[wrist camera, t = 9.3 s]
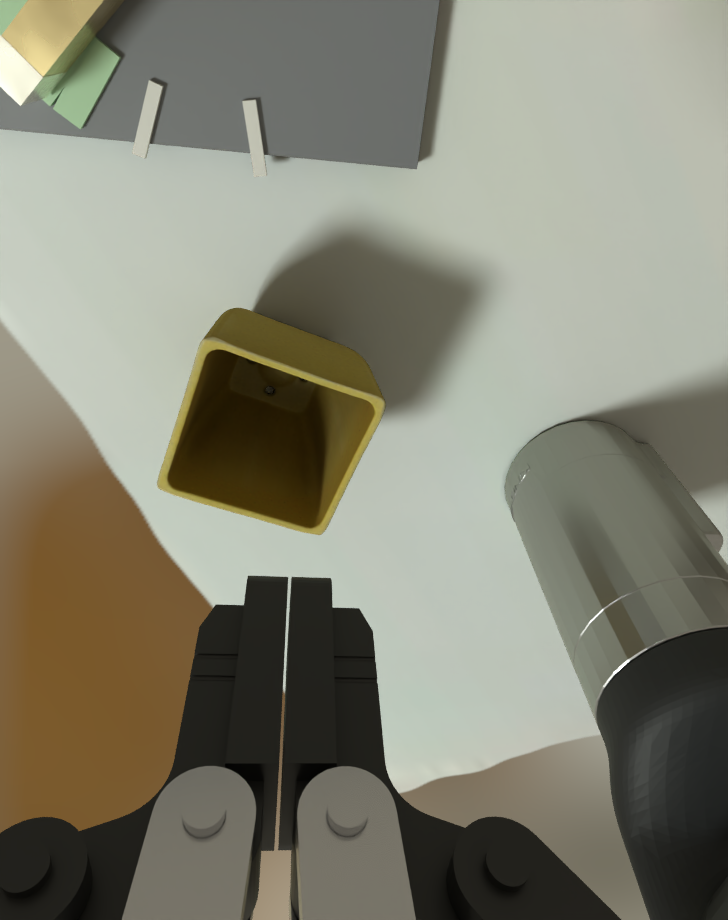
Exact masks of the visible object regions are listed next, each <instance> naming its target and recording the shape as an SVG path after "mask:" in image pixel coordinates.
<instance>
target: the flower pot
mask: <svg viewBox="0 0 728 920" xmlns="http://www.w3.org/2000/svg"><path fill="white" fill-rule="evenodd" d="M248 359H250V360H252V361H255V362H250V361H249V360H248ZM301 378H303V379H305V381H304V380H301ZM268 386H271V387H273V388H274V389H275V391H274V393H272V394H268V393H266V391H265V388H266V387H268ZM385 407H386V402H385V400H384V398H383V396H382V393H381V391H380V389H379V387H378V384H377V382H376V380H375V378H374V376H373V374H372V372H371V369H370V368H369V366H368V364H367V363H366V361H365V360H364V359H363V358H362V357H361V356H360V355H359V354H358V353H356V352H355V351H353V350H352V349H350V348H348V347H345V346H343V345H341V344H338V343H335V342H332V341H330V340H327V339H324V338H321V337H319V336H316V335H313V334H311V333H308V332H305V331H302V330H300V329H297V328H295V327H292V326H289V325H286V324H284V323H281V322H278V321H276V320H273V319H271V318H268V317H265V316H263V315H260V314H258V313H255V312H253V311H250V310H247V309H243V308H233V309H230V310H227V311H226V312H224V313H223V314H222V315H221V316H220V317H219V319H218V320H217V321H216V322H215V324H214V325H213V327H212V328H211V329H210V331H209V332H208V333H207V335H206V336H205V337H204V339H203V340H202V341H201V343H200V345H199V348H198V351H197V355H196V358H195V362H194V365H193V369H192V372H191V375H190V378H189V382H188V385H187V388H186V392H185V395H184V398H183V402H182V405H181V408H180V411H179V414H178V417H177V420H176V424H175V427H174V430H173V433H172V436H171V440H170V443H169V446H168V449H167V452H166V455H165V458H164V461H163V464H162V467H161V470H160V473H159V477H158V482H157V485H158V488H159V489H161V490H163V491H165V492H167V493H170V494H172V495H175V496H179V497H182V498H185V499H188V500H192V501H195V502H198V503H202V504H205V505H209V506H213V507H216V508H220V509H223V510H227V511H230V512H233V513H237V514H241V515H245V516H248V517H252V518H255V519H259V520H262V521H265V522H268V523H272V524H276V525H279V526H283V527H286V528H289V529H292V530H296V531H300V532H304V533H310V534H316V535H321V534H322V533H323V532H324V531H325V530H326V528H327V527H328V525H329V523H330V521H331V519H332V517H333V515H334V513H335V510H336V508H337V506H338V504H339V501H340V500H341V498H342V496H343V494H344V492H345V489H346V487H347V485H348V483H349V481H350V479H351V477H352V475H353V473H354V471H355V469H356V467H357V465H358V463H359V461H360V459H361V457H362V455H363V453H364V451H365V449H366V448H367V446H368V444H369V442H370V440H371V438H372V436H373V434H374V432H375V430H376V428H377V426H378V424H379V423H380V420H381V418H382V416H383V413H384V411H385Z"/></svg>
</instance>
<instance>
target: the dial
mask: <svg viewBox="0 0 728 920" xmlns="http://www.w3.org/2000/svg"><path fill="white" fill-rule="evenodd" d="M123 2H124V0H28V1H27V2H26V3H25V5H24V6H23V7H22V9H21V10H20V11H19V13H18V14H17V15H16V17H15V18H14V19H13V21H12V22H11V23H10V25H9V26H8V27H7V29H6V30H5V31H4V33H3V34H2V35H0V87H1V88H2V89H3V90H4V91H5V92H6V93H7V94H8V95H9V96H11V97H12V98H13V99H14V100H15V101H16V102H17V103H18V104H19V105H20V106H22V105H25V104H29V103H32V102H35V101H38V100H42V99H45V98H47V97H48V95H49V94H50V93H51V92H52V91H53V89H54V88H55V87H56V86H57V84H58V83H59V82H60V81H61V79H62V78H63V77H64V76H65V74H66V73H67V71H68V70H69V68H70V67H71V66H72V65H73V63H74V62H75V61H76V60H77V59H78V57H79V56H80V55H81V54H82V52H83V51H84V50H85V49H86V47H87V46H88V45H89V44H90V42H91V41H92V40H93V39H94V37H95V36H96V35H97V34H98V32H99V31H100V30H101V29H102V28H103V26H104V25H105V24H106V23H107V21H108V20H109V19H110V18H111V16H112V15H113V14H114V13H115V11H116V10H117V9H118V8H119V6H120V5H121V4H122V3H123Z"/></svg>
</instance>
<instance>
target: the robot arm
mask: <svg viewBox="0 0 728 920" xmlns="http://www.w3.org/2000/svg"><path fill="white" fill-rule="evenodd" d="M505 495H506V501H507V503H508V505H509V508H510V510H511V514H512V518H513V520H514V522H515V523H516V526H517V528H518V531H519V533H520V536H521V538H522V541H523V544H524V546H525V549H526V551H527V554H528V556H529V558H530V561H531V563H532V566H533V568H534V571H535V573H536V576H537V578H538V581H539V583H540V586H541V588H542V590H543V593H544V595H545V598H546V600H547V603H548V605H549V608H550V610H551V613H552V615H553V618H554V620H555V622H556V625H557V627H558V630H559V632H560V635H561V637H562V640H563V642H564V645H565V647H566V650H567V652H568V654H569V657H570V659H571V662H572V664H573V667H574V669H575V672H576V674H577V676H578V679H579V681H580V684H581V686H582V689H583V691H584V693H585V696H586V698H587V701H588V703H589V706H590V708H591V711H592V713H593V716H594V718H595V720H596V723H597V725H598V728H599V730H600V733H601V735H602V737H603V740H604V742H605V746H606V749H607V752H608V758H609V768H610V785H611V794H612V800H613V806H614V811H615V814H616V818H617V822H618V825H619V829H620V832H621V835H622V838H623V841H624V844H625V847H626V850H627V853H628V856H629V859H630V862H631V864H632V867H633V870H634V873H635V876H636V879H637V882H638V885H639V888H640V891H641V894H642V897H643V900H644V903H645V906H646V908H647V911H648V914H649V917H650V920H728V565H727V563H726V562H725V561H724V559H723V558H722V557H721V556H720V554H719V551H720V549H721V547H722V544H723V536H722V535H721V533H720V532H719V530H718V529H717V528H716V527H715V525H714V524H713V523H712V522H711V520H710V519H709V518H708V516H707V515H706V514H705V513H704V511H703V510H702V509H701V508H700V506H699V505H698V504H697V503H696V501H695V500H694V499H693V498H692V496H691V495H690V494H689V493H688V491H687V490H686V489H685V488H684V486H683V485H682V484H681V483H680V481H679V480H678V479H677V478H676V476H675V475H674V474H673V473H672V471H671V470H670V469H669V468H668V466H667V465H666V464H665V463H664V461H663V460H662V459H661V457H660V456H659V455H658V454H657V452H656V451H655V450H654V449H653V447H652V446H651V445H650V444H644V443H637V442H635V441H634V440H633V439H632V438H631V437H630V436H629V435H628V434H626V433H625V432H624V431H623V430H621V429H619V428H617V427H616V426H614V425H611V424H608V423H604V422H600V421H586V420H585V421H577V422H570V423H566V424H563V425H560V426H556V427H554V428H552V429H550V430H548V431H546V432H544V433H542V434H540V435H539V436H537V437H536V438H535V439H533V440H532V441H531V442H529V443H528V444H527V445H526V446H525V447H524V448H523V449H522V450H521V451H520V452H519V453H518V455H517V456H516V458H515V459H514V461H513V462H512V464H511V466H510V468H509V471H508V474H507V476H506V482H505ZM287 589H288V577H270V576H248V579H247V586H246V594H245V602H244V605H215V607H214V608H213V609H212V611H211V612H210V614H209V615H208V617H207V618H206V619H205V620H204V622H203V623H202V624H201V626H200V627H199V633H198V638H197V643H196V649H195V656H194V659H193V664H192V670H191V675H190V681H189V685H188V691H187V696H186V701H185V706H184V712H183V717H182V722H181V727H180V733H179V738H178V744H177V749H176V754H175V759H174V763H173V767H172V770H171V772H170V775H169V777H168V779H167V781H166V782H165V784H164V785H163V787H162V788H161V789H160V790H159V792H158V793H157V794H156V795H155V796H154V797H153V798H152V799H151V800H150V801H149V802H148V803H146V804H145V805H143V806H142V807H141V808H139V809H138V810H136V811H134V812H132V813H130V814H128V815H126V816H123V817H121V818H118V819H115V820H112V821H109V822H106V823H103V824H100V825H97V826H94V827H91V828H88V829H85V830H82V831H78V830H77V829H76V828H75V827H74V826H73V825H71V824H70V823H68V822H66V821H64V820H62V819H58V818H53V817H40V818H34V819H29V820H26V821H23V822H21V823H18V824H15V825H13V826H11V827H10V828H8V829H6V830H4V831H3V832H2V833H0V920H252V916H253V910H254V908H255V905H256V901H257V898H258V891H259V877H260V861H261V851H271V850H272V851H274V842H275V825H276V824H275V823H276V807H277V789H278V772H279V753H280V731H281V711H282V691H283V671H284V650H285V630H286V609H287ZM284 713H285V714H284V735H283V736H284V737H283V758H282V781H281V782H282V783H281V804H280V826H279V848H278V850H292V854H291V888H290V899H289V920H621V919H620V918H619V917H618V916H617V915H616V914H615V913H614V912H613V911H612V910H611V909H610V908H609V907H608V906H607V905H606V904H605V903H604V902H603V901H602V900H601V899H600V898H599V897H598V896H597V895H596V894H595V893H594V892H593V891H592V890H591V889H590V888H589V887H587V885H586V884H585V883H584V882H583V881H582V880H580V878H579V877H577V875H576V874H575V873H573V872H572V871H571V870H570V869H569V868H568V867H567V866H566V865H565V864H564V863H563V862H562V861H561V860H560V859H559V858H558V857H557V856H556V855H555V854H554V853H553V852H552V851H551V850H550V849H549V848H548V847H547V846H546V845H545V844H544V843H543V842H542V841H541V840H540V839H539V838H538V837H537V836H536V835H535V834H534V833H533V832H531V831H530V830H529V829H528V828H526V827H525V826H523V825H521V824H520V823H518V822H515V821H513V820H510V819H507V818H503V817H486V818H482V819H478V820H477V821H474V822H473V823H471V824H470V825H468V826H467V827H466V828H464V827H461V826H458V825H455V824H452V823H450V822H447V821H444V820H441V819H438V818H435V817H432V816H430V815H427V814H425V813H423V812H420V811H419V810H417V809H415V808H414V807H412V806H411V805H410V804H409V803H407V802H406V801H405V800H404V799H403V798H402V797H401V796H400V795H399V793H398V792H397V791H396V789H395V788H394V786H393V785H392V783H391V781H390V779H389V776H388V773H387V770H386V765H385V758H384V747H383V736H382V725H381V715H380V704H379V693H378V683H377V672H376V662H375V651H374V640H373V631H372V629H371V627H370V626H369V624H368V623H367V621H366V619H365V618H364V616H363V614H362V613H361V611H360V609H359V608H332V582H331V578H306V577H292V579H291V595H290V612H289V629H288V647H287V667H286V690H285V712H284Z"/></svg>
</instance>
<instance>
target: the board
mask: <svg viewBox="0 0 728 920" xmlns="http://www.w3.org/2000/svg"><path fill="white" fill-rule="evenodd" d="M27 1H28V0H0V35H2V34H3V33H4V31H5V30H6V29H7V27H8V26H9V25H10V23H11V22H12V21H13V19H14V18H15V17H16V15H17V14H18V13H19V11H20V10H21V9H22V7H23V6H24V5H25V3H26V2H27ZM439 1H440V0H124V2H123V3H122V4H121V5H120V6H119V8H118V9H117V10H116V11H115V13H114V14H113V15H112V16H111V18H110V19H109V20H108V21H107V23H106V24H105V25H104V26H103V28H102V29H101V30H100V31H99V32H98V34H97V35H96V36H95V37H94V39H93V40H92V41H91V42H90V44H89V45H88V46H87V47H86V49H85V50H84V51H83V52H82V54H81V55H80V56H79V57H78V59H77V60H76V61H75V62H74V63H73V65H72V66H71V67H70V68H69V70H68V71H67V73H66V74H65V76H64V77H63V78H62V79H61V81H60V82H59V83H58V84H57V86H56V87H55V88H54V89H53V91H52V92H51V93H50V94H49V95H48V97H47V98H45V99H42V100H38V101H35V102H32V103H29V104H25V105H22V106H20V105H19V104H18V103H17V102H16V101H15V100H14V99H13V98H12V97H11V96H9V95H8V94H7V93H6V92H5V91H4V90H3V89H2V88H1V87H0V129H5V130H15V131H26V132H36V133H46V134H57V135H67V136H77V137H88V138H98V139H108V140H119V141H129V142H134V147H133V151H132V153H133V154H135V155H137V156H140V157H142V158H144V159H145V158H146V157H147V153H148V149H149V144H160V145H171V146H181V147H191V148H202V149H212V150H223V151H233V152H243V153H251V160H252V166H253V173H254V177H259V176H267V171H266V164H265V157H264V155H274V156H285V157H295V158H305V159H316V160H326V161H337V162H347V163H357V164H368V165H378V166H388V167H399V168H409V169H417V165H418V157H419V150H420V142H421V135H422V128H423V120H424V113H425V105H426V98H427V90H428V83H429V75H430V68H431V61H432V53H433V46H434V38H435V31H436V23H437V16H438V9H439Z"/></svg>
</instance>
